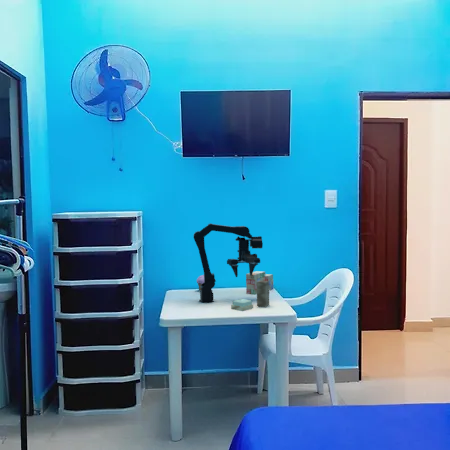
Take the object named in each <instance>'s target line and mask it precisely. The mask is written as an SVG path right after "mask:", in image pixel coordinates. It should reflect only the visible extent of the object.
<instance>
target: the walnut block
mask: <svg viewBox="0 0 450 450" xmlns="http://www.w3.org/2000/svg"><path fill="white" fill-rule="evenodd" d="M268 305H269V306H270V290H269V281H261V280H260V281H258V282H257V294H256V306H258V307H259V308H267V307H269V306H268ZM258 307H257V308H258Z"/></svg>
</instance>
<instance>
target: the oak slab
mask: <svg viewBox="0 0 450 450" xmlns="http://www.w3.org/2000/svg"><path fill="white" fill-rule="evenodd" d="M230 306H231V307H230V309H231V310H236V311H240V312H245V311H249V310H252V308H253V309H254V304H252V305H249V306H245V307H240V306H235V305H233V304H231V305H230Z"/></svg>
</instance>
